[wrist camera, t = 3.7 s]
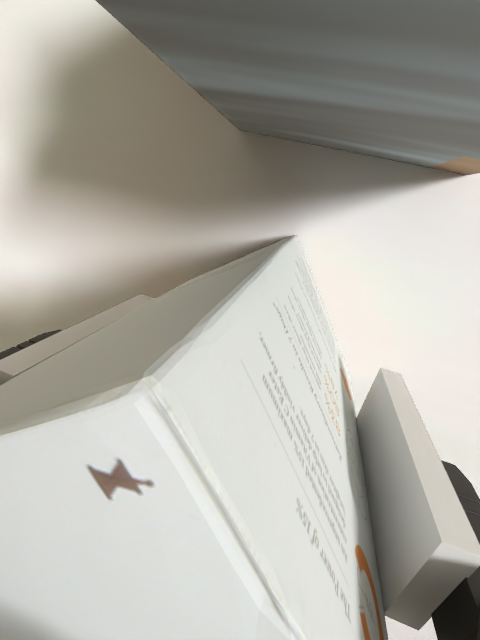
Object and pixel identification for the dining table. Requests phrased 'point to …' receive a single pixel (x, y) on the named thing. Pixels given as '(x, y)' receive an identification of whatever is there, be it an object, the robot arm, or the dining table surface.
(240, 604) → the small box
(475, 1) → the book rack
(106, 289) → the dining table surface
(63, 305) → the dining table surface
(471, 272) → the dining table surface
